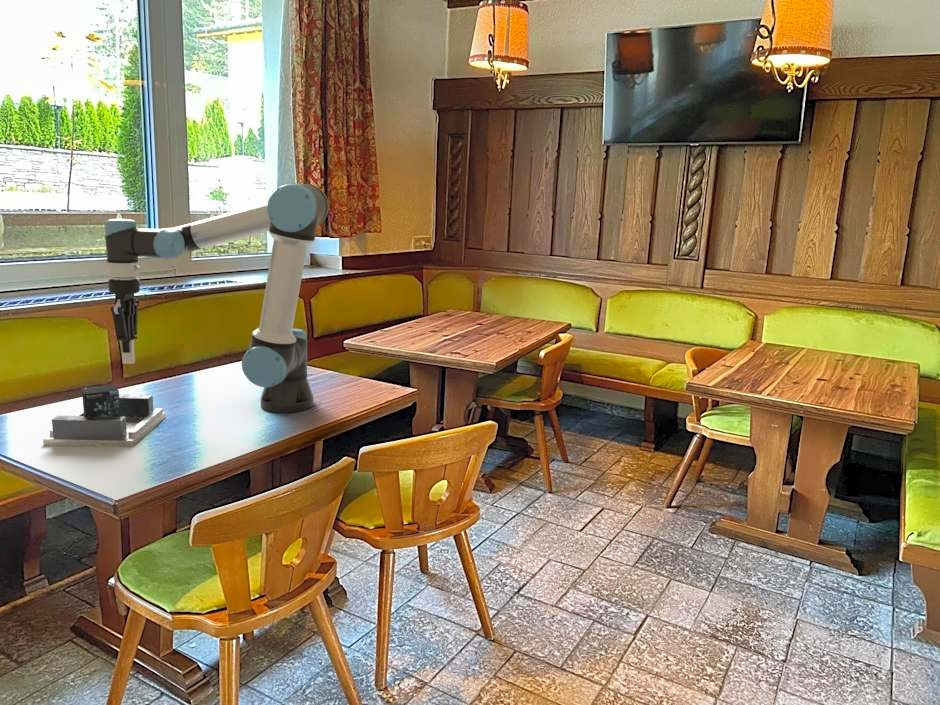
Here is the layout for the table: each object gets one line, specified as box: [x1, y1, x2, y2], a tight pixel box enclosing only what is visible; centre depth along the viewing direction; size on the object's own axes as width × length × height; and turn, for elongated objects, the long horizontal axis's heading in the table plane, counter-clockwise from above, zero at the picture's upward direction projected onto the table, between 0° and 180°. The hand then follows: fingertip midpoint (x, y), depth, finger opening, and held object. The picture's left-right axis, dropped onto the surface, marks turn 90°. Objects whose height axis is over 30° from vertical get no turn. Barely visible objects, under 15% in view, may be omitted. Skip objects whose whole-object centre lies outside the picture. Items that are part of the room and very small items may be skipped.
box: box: [81, 384, 121, 417], centre depth 176 cm, size 8×6×11 cm
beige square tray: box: [42, 407, 166, 447], centre depth 180 cm, size 21×22×6 cm
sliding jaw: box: [119, 394, 155, 416], centre depth 187 cm, size 16×3×5 cm, turn 94°
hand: (128, 362), depth 193 cm, fingers closed
